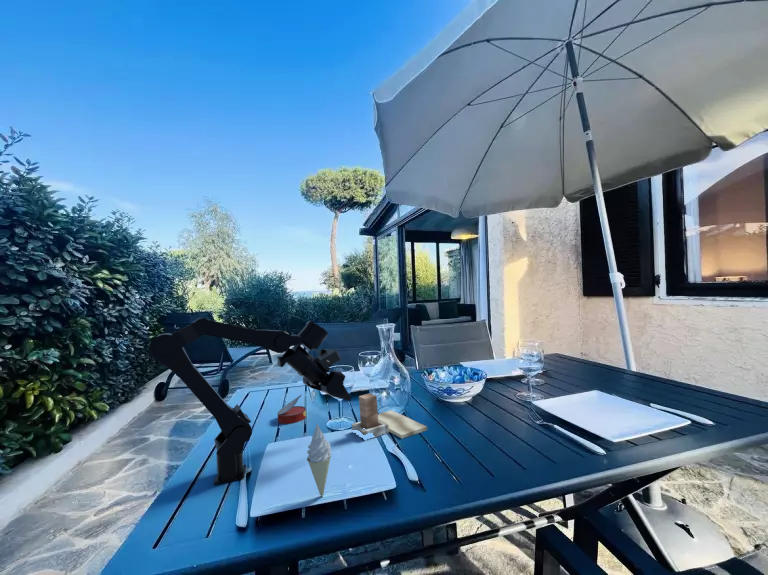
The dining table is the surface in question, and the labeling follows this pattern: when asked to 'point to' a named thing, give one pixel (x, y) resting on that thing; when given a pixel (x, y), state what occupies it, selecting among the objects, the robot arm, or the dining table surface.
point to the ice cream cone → (319, 458)
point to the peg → (368, 411)
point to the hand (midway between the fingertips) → (342, 396)
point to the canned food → (291, 413)
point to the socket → (392, 425)
